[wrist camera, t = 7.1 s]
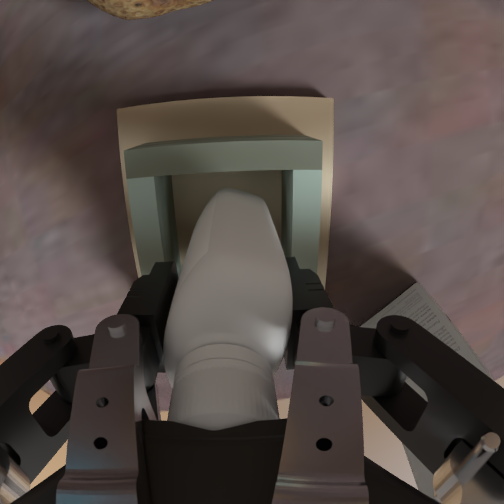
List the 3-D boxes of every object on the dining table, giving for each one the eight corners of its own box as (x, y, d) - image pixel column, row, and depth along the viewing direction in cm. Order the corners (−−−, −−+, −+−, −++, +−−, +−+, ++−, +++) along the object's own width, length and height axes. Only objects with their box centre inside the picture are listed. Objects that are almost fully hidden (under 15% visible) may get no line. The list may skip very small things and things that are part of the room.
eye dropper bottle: (155, 252, 15) (61, 483, 4) (237, 170, 14) (253, 377, 3) (219, 306, 17) (213, 538, 6) (300, 235, 15) (410, 465, 5)
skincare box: (449, 335, 23) (538, 467, 9) (395, 378, 24) (459, 521, 11) (413, 275, 20) (544, 441, 7) (347, 329, 22) (425, 522, 8)
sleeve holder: (122, 108, 15) (87, 109, 11) (328, 99, 15) (358, 95, 11) (154, 327, 21) (139, 373, 17) (317, 321, 21) (333, 366, 17)
